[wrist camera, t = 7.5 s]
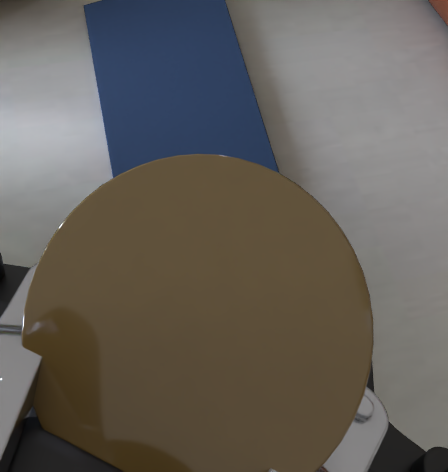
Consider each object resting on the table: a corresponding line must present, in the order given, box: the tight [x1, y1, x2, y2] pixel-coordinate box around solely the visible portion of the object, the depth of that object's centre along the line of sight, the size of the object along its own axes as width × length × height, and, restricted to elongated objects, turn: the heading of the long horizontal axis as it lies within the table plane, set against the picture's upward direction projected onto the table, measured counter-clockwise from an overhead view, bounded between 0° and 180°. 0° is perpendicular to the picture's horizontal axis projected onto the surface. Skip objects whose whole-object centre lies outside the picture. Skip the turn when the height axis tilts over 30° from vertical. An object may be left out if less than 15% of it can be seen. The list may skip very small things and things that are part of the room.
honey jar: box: [21, 154, 374, 472], centre depth 10 cm, size 6×6×10 cm
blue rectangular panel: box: [84, 0, 279, 178], centre depth 24 cm, size 11×20×1 cm, turn 14°
